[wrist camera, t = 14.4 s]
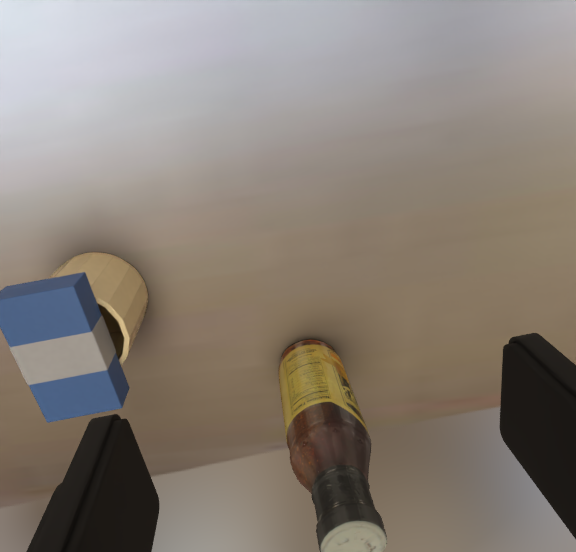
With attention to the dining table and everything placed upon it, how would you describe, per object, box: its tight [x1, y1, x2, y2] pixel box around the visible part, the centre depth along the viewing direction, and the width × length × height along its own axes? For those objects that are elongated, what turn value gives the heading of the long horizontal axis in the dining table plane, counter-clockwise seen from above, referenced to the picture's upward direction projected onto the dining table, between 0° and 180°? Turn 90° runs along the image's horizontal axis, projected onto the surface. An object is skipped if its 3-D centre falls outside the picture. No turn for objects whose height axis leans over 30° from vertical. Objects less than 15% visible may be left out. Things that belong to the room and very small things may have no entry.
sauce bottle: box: [279, 340, 387, 552], centre depth 35 cm, size 7×6×20 cm
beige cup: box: [48, 252, 148, 365], centre depth 36 cm, size 8×8×8 cm
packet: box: [0, 272, 129, 422], centre depth 31 cm, size 10×6×2 cm, turn 9°
